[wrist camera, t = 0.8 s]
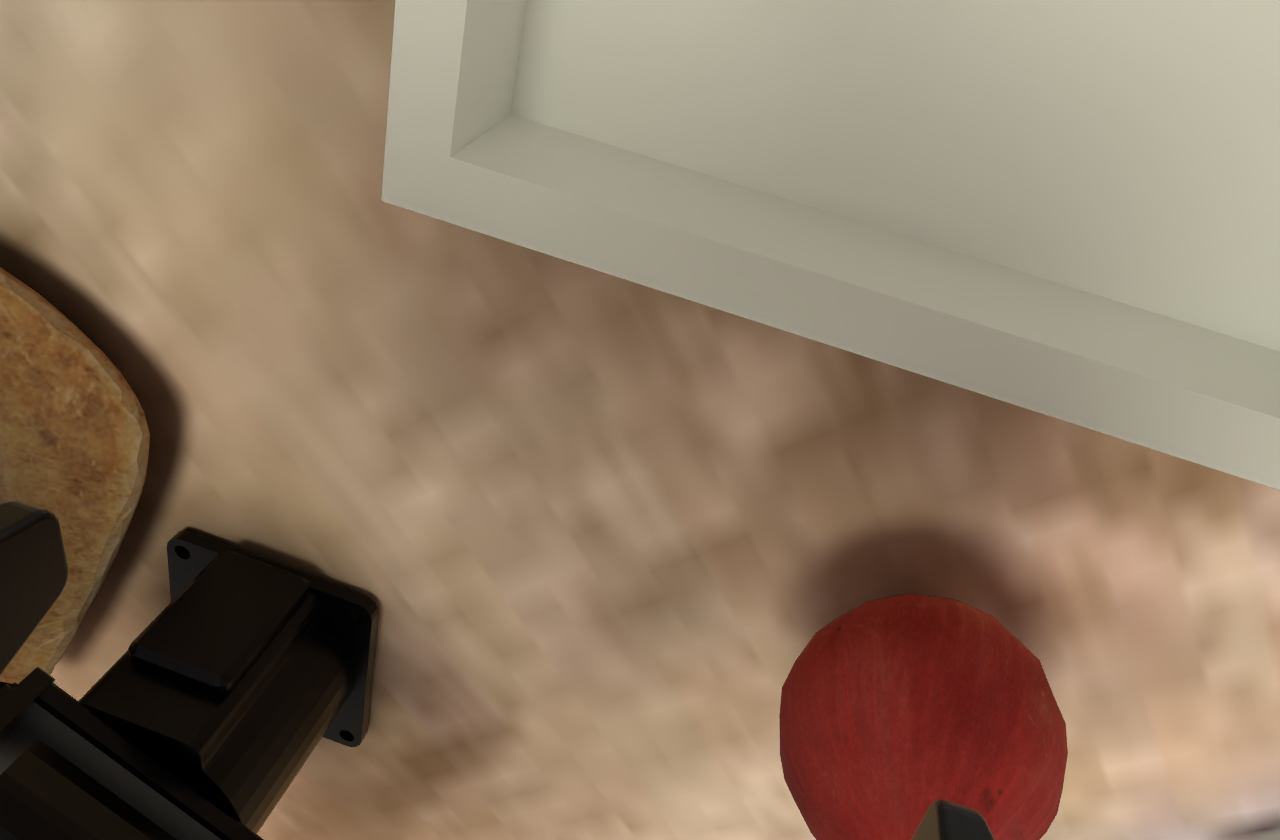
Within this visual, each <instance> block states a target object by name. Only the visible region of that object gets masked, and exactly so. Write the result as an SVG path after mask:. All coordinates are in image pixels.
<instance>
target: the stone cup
mask: <svg viewBox="0 0 1280 840" xmlns="http://www.w3.org/2000/svg"><path fill="white" fill-rule="evenodd" d="M149 441H150V433H149V429H148V425H147V422H146V418H145V414H144V411H143V409H142V407H141V405H140V403H139V401H138V399H137V397H136V395H135V393H134V392H133V390H132V389H131V387H130V386H129V384H128V383H127V381H126V380H125V378H124V377H123V375H122V374H121V372H120V371H119V370H118V369H117V368H116V366H115V365H114V364H113V363H112V362H111V361H110V360H109V358H108V357H107V356H106V355H105V354H104V353H103V352H102V351H101V350H100V349H99V348H98V347H97V346H96V345H95V344H94V343H93V342H92V341H91V340H90V339H89V338H88V337H87V336H86V335H85V334H84V333H83V332H82V331H81V330H80V329H78V328H77V327H76V326H75V325H74V324H73V323H72V322H71V321H70V320H69V319H68V318H67V317H65V316H64V315H63V314H62V313H61V312H60V311H59V310H57V309H56V308H55V307H54V306H53V305H52V304H50V303H49V302H48V301H47V300H46V299H45V298H44V297H42V296H41V295H40V294H38V293H37V292H36V291H34V290H33V289H31V288H30V287H28V286H27V285H26V284H24V283H23V282H21V281H20V280H19V279H17V278H16V277H14V276H13V275H11V274H10V273H8V272H6V271H5V270H3V269H2V268H0V504H2V503H6V502H10V501H22V502H26V503H29V504H32V505H35V506H38V507H41V508H44V509H47V510H50V511H52V512H53V513H54V514H55V515H56V516H57V518H58V519H59V522H60V527H61V532H62V537H63V543H64V548H65V553H66V559H67V564H68V578H67V582H66V585H65V587H64V589H63V591H62V593H61V594H60V596H59V597H58V599H57V600H56V601H55V603H54V604H53V605H52V607H51V608H50V610H49V611H48V612H47V614H46V615H45V616H44V618H43V619H42V620H41V622H40V623H39V624H38V626H37V627H36V628H35V630H34V631H33V632H32V634H31V635H30V636H29V638H28V639H27V640H26V642H25V643H24V644H23V646H22V647H21V648H20V650H19V651H18V653H17V654H16V655H15V657H14V658H13V659H12V661H11V662H10V663H9V665H8V666H7V667H6V669H5V670H4V671H3V673H2V674H1V675H0V681H1V682H6V683H11V684H13V683H14V682H16V683H17V684H19V683H20V682H21V681H22V680H23V679H24V678H25V677H26V676H28V675H29V674H30V673H31V672H32V671H33V670H34V669H35V668H37V667H39V668H41V669H42V670H43V671H45V672H46V673H47V674H49V675H50V674H51V673H52V671H53V669H54V667H55V665H56V664H57V662H58V661H59V660H60V659H61V658H62V657H63V655H64V653H65V651H66V650H67V648H68V646H69V644H70V643H71V641H72V639H73V637H74V636H75V634H76V632H77V630H78V628H79V626H80V623H81V621H82V619H83V617H84V615H85V613H86V611H87V609H88V608H89V606H90V605H91V603H92V601H93V600H94V598H95V596H96V594H97V593H98V591H99V589H100V587H101V585H102V583H103V581H104V580H105V578H106V576H107V574H108V572H109V570H110V568H111V566H112V564H113V562H114V560H115V558H116V556H117V553H118V551H119V548H120V546H121V543H122V541H123V539H124V536H125V534H126V531H127V529H128V527H129V524H130V522H131V519H132V517H133V514H134V512H135V509H136V506H137V504H138V501H139V499H140V496H141V493H142V489H143V485H144V482H145V478H146V472H147V464H148V456H149Z"/></svg>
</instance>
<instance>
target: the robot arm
mask: <svg viewBox="0 0 1280 840" xmlns="http://www.w3.org/2000/svg"><path fill="white" fill-rule="evenodd" d="M167 553H168V566H169V579H170V593H171V603H170V604H169V605H168V606H167V607H166V608H165V609H164V610H163V611H162V612H161V613H160V614H159V616H158V617H157V618H156V619H155V620H154V621H153V622H152V623H151V624H150V625H149V626H148V627H147V628H146V629H145V630H144V631H143V632H142V633H141V634H140V635H139V636H138V637H137V638H136V639H135V640H134V641H133V642H132V643H131V645H130V647H129V650H128V651H127V652H126V653H125V654H124V655H123V656H122V657H121V658H120V659H119V660H118V661H117V662H116V663H115V664H114V665H113V666H112V667H111V668H110V669H109V670H108V671H107V672H106V673H105V674H104V675H103V677H102V678H101V679H100V680H99V681H98V682H97V683H96V684H95V685H94V686H93V687H92V688H91V689H90V690H89V691H88V692H87V693H86V694H85V695H84V696H83V697H82V698H81V699H80V700H79V701H77V700H75V699H74V698H73V697H71V696H70V695H69V694H67V693H66V692H65V691H63V690H62V689H61V688H59V687H58V686H57V685H55V684H54V683H53V682H54V681H55V679H54V678H53V677H51V676H50V675H49V674H47V673H46V672H45V671H43V670H42V669H41V668H39V667H37V668H35V669H34V670H33V671H32V672H31V673H30V674H29V675H28V676H26V677H25V678H24V679H23V680H22V681H21V682H20V683H19V684H17V683H16V682H14V683H13V684H11V683H6V682H1V681H0V840H263V839H262V838H261V837H259V836H258V835H257V833H258V831H259V830H260V828H261V827H262V825H263V824H264V822H265V821H266V819H267V818H268V816H269V815H270V813H271V812H272V810H273V809H274V807H275V806H276V804H277V803H278V801H279V800H280V798H281V797H282V795H283V794H284V792H285V791H286V790H287V788H288V787H289V785H290V784H291V782H292V781H293V779H294V778H295V776H296V775H297V773H298V772H299V770H300V769H301V767H302V766H303V764H304V763H305V761H306V760H307V758H308V757H309V755H310V754H311V752H312V751H313V749H314V748H315V746H316V745H317V743H318V742H319V740H320V739H321V737H325V738H327V739H330V740H333V741H335V742H338V743H341V744H343V745H346V746H350V747H357V746H358V745H360V744H361V742H362V740H363V739H364V737H365V736H366V733H367V729H368V719H369V708H370V697H371V686H372V676H373V665H374V654H375V643H376V633H377V622H378V607H377V606H376V604H375V602H374V601H373V600H371V599H370V598H369V597H367V596H365V595H363V594H361V593H358V592H355V591H352V590H350V589H347V588H344V587H341V586H339V585H336V584H333V583H330V582H328V581H325V580H322V579H319V578H317V577H314V576H311V575H308V574H306V573H303V572H300V571H297V570H295V569H292V568H289V567H286V566H284V565H281V564H278V563H275V562H273V561H270V560H267V559H264V558H262V557H259V556H256V555H253V554H251V553H248V552H245V551H242V550H240V549H237V548H234V547H231V546H229V545H226V544H223V543H220V542H218V541H215V540H212V539H209V538H207V537H204V536H201V535H198V534H196V533H193V532H190V531H185V530H184V531H180V532H178V533H177V534H176V535H175V536H174V537H173V538H172V539H171V540H170V541H169V542H168V544H167ZM67 578H68V564H67V559H66V553H65V548H64V543H63V537H62V532H61V527H60V522H59V519H58V518H57V516H56V515H55V514H54V513H53V512H52V511H50V510H47V509H44V508H41V507H38V506H35V505H32V504H29V503H26V502H22V501H10V502H6V503H2V504H0V675H1V674H2V673H3V671H4V670H5V669H6V667H7V666H8V665H9V663H10V662H11V661H12V659H13V658H14V657H15V655H16V654H17V653H18V651H19V650H20V648H21V647H22V646H23V644H24V643H25V642H26V640H27V639H28V638H29V636H30V635H31V634H32V632H33V631H34V630H35V628H36V627H37V626H38V624H39V623H40V622H41V620H42V619H43V618H44V616H45V615H46V614H47V612H48V611H49V610H50V608H51V607H52V605H53V604H54V603H55V601H56V600H57V599H58V597H59V596H60V594H61V593H62V591H63V589H64V587H65V585H66V582H67ZM911 840H995V839H994V837H993V835H992V833H991V831H990V828H989V826H988V824H987V822H986V821H985V819H984V818H983V816H982V815H981V814H980V813H979V812H978V811H976V810H974V809H971V808H968V807H965V806H962V805H959V804H956V803H952V802H949V801H946V800H942V799H938V800H935V801H934V802H933V803H932V804H931V805H930V807H929V808H928V810H927V812H926V814H925V815H924V817H923V819H922V821H921V823H920V824H919V826H918V828H917V830H916V832H915V834H914V835H913V837H912V839H911Z"/></svg>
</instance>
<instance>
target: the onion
mask: <svg viewBox="0 0 1280 840" xmlns="http://www.w3.org/2000/svg"><path fill="white" fill-rule="evenodd" d="M1067 754H1068V751H1067V738H1066V724H1065V721H1064V719H1063V717H1062V714H1061V712H1060V710H1059V707H1058V705H1057V703H1056V700H1055V698H1054V696H1053V693H1052V691H1051V688H1050V686H1049V683H1048V681H1047V678H1046V676H1045V673H1044V671H1043V668H1042V665H1041V663H1040V660H1039V659H1038V658H1037V657H1036V656H1034V655H1033V654H1032V653H1031V652H1030V651H1029V650H1028V649H1027V648H1026V647H1025V646H1024V645H1023V644H1022V643H1021V642H1020V641H1018V640H1017V639H1016V638H1015V637H1014V636H1013V635H1012V634H1011V633H1010V632H1009V631H1008V630H1007V629H1006V628H1005V627H1004V626H1002V625H1001V624H1000V623H999V622H998V621H997V620H996V619H995V618H994V617H993V616H991V615H989V614H986V613H984V612H982V611H979V610H977V609H975V608H972V607H970V606H968V605H965V604H963V603H961V602H958V601H956V600H954V599H947V598H939V597H930V596H922V595H915V594H905V595H900V596H895V597H890V598H885V599H880V600H875V601H870V602H866V603H864V604H862V605H861V606H859V607H857V608H855V609H853V610H851V611H849V612H847V613H846V614H844V615H842V616H840V617H838V618H836V619H835V620H833V621H832V622H831V623H829V624H828V625H826V626H825V627H824V628H822V629H821V630H819V631H818V632H816V634H815V635H814V636H813V638H812V639H811V641H810V642H809V643H808V645H807V646H806V647H805V649H804V650H803V652H802V653H801V654H800V656H799V657H798V658H797V660H796V661H795V663H794V665H793V667H792V669H791V671H790V673H789V675H788V677H787V679H786V681H785V683H784V685H783V687H782V694H781V706H780V756H781V762H782V767H783V773H784V779H785V781H786V783H787V785H788V787H789V790H790V792H791V794H792V796H793V798H794V800H795V802H796V804H797V806H798V808H799V810H800V812H801V814H802V816H803V818H804V820H805V822H806V824H807V826H808V828H809V830H810V832H811V833H812V834H813V836H814V837H815V838H816V840H911V839H912V837H913V835H914V834H915V832H916V830H917V828H918V826H919V824H920V823H921V821H922V819H923V817H924V815H925V814H926V812H927V810H928V808H929V807H930V805H931V804H932V803H933V802H934V801H935V800H938V799H942V800H946V801H949V802H952V803H956V804H959V805H962V806H965V807H968V808H971V809H974V810H976V811H978V812H979V813H980V814H981V815H982V816H983V818H984V819H985V821H986V822H987V824H988V826H989V828H990V831H991V833H992V835H993V837H994V839H995V840H1040V839H1041V837H1042V836H1043V835H1044V834H1045V833H1046V832H1047V830H1048V828H1049V827H1050V825H1051V823H1052V821H1053V820H1054V818H1055V816H1056V814H1057V812H1058V807H1059V803H1060V798H1061V794H1062V789H1063V782H1064V775H1065V768H1066V761H1067Z"/></svg>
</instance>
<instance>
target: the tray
mask: <svg viewBox="0 0 1280 840" xmlns="http://www.w3.org/2000/svg"><path fill="white" fill-rule="evenodd" d="M381 201H383V202H386V203H389V204H392V205H395V206H398V207H401V208H405V209H408V210H411V211H414V212H417V213H420V214H423V215H426V216H429V217H432V218H436V219H439V220H442V221H445V222H448V223H451V224H454V225H457V226H460V227H464V228H467V229H470V230H473V231H476V232H479V233H482V234H485V235H488V236H492V237H495V238H498V239H501V240H504V241H507V242H510V243H513V244H516V245H519V246H523V247H526V248H529V249H532V250H535V251H538V252H541V253H544V254H547V255H551V256H554V257H557V258H560V259H563V260H566V261H569V262H572V263H575V264H579V265H582V266H585V267H588V268H591V269H594V270H597V271H600V272H603V273H606V274H610V275H613V276H616V277H619V278H622V279H625V280H628V281H631V282H634V283H638V284H641V285H644V286H647V287H650V288H653V289H656V290H659V291H662V292H666V293H669V294H672V295H675V296H678V297H681V298H684V299H687V300H690V301H693V302H697V303H700V304H703V305H706V306H709V307H712V308H715V309H718V310H721V311H725V312H728V313H731V314H734V315H737V316H740V317H743V318H746V319H749V320H753V321H756V322H759V323H762V324H765V325H768V326H771V327H774V328H777V329H780V330H784V331H787V332H790V333H793V334H796V335H799V336H802V337H805V338H808V339H812V340H815V341H818V342H821V343H824V344H827V345H830V346H833V347H836V348H840V349H843V350H846V351H849V352H852V353H855V354H858V355H861V356H864V357H867V358H871V359H874V360H877V361H880V362H883V363H886V364H889V365H892V366H895V367H899V368H902V369H905V370H908V371H911V372H914V373H917V374H920V375H923V376H927V377H930V378H933V379H936V380H939V381H942V382H945V383H948V384H951V385H954V386H958V387H961V388H964V389H967V390H970V391H973V392H976V393H979V394H982V395H986V396H989V397H992V398H995V399H998V400H1001V401H1004V402H1007V403H1010V404H1014V405H1017V406H1020V407H1023V408H1026V409H1029V410H1032V411H1035V412H1038V413H1041V414H1045V415H1048V416H1051V417H1054V418H1057V419H1060V420H1063V421H1066V422H1069V423H1073V424H1076V425H1079V426H1082V427H1085V428H1088V429H1091V430H1094V431H1097V432H1101V433H1104V434H1107V435H1110V436H1113V437H1116V438H1119V439H1122V440H1125V441H1128V442H1132V443H1135V444H1138V445H1141V446H1144V447H1147V448H1150V449H1153V450H1156V451H1160V452H1163V453H1166V454H1169V455H1172V456H1175V457H1178V458H1181V459H1184V460H1188V461H1191V462H1194V463H1197V464H1200V465H1203V466H1206V467H1209V468H1212V469H1215V470H1219V471H1222V472H1225V473H1228V474H1231V475H1234V476H1237V477H1240V478H1243V479H1247V480H1250V481H1253V482H1256V483H1259V484H1262V485H1265V486H1268V487H1271V488H1275V489H1278V490H1280V0H396V2H395V16H394V30H393V44H392V58H391V72H390V86H389V100H388V114H387V128H386V142H385V156H384V170H383V184H382V198H381Z"/></svg>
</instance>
